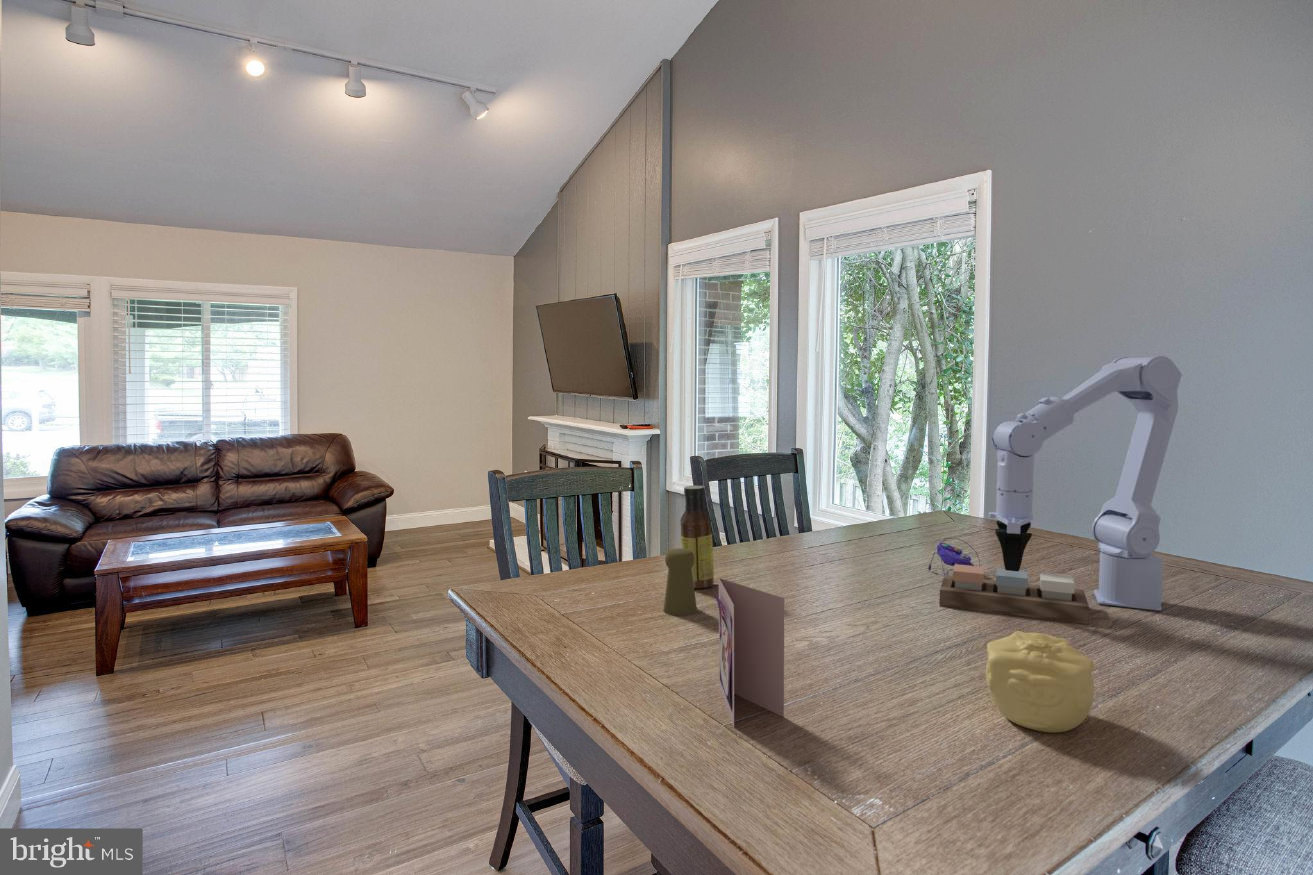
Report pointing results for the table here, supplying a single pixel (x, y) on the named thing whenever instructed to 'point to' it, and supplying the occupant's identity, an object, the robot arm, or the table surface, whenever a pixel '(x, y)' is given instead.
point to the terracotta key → (968, 577)
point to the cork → (680, 583)
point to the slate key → (1011, 582)
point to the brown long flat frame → (1015, 602)
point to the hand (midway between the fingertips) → (1012, 565)
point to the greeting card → (751, 646)
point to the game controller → (952, 555)
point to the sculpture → (1040, 681)
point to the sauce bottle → (698, 536)
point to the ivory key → (1056, 586)
